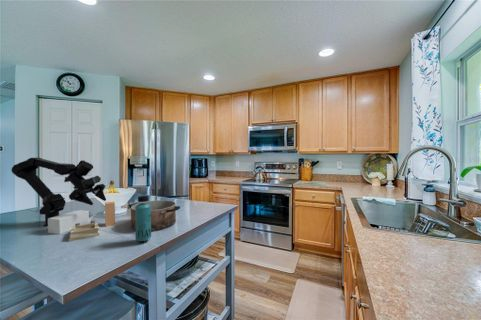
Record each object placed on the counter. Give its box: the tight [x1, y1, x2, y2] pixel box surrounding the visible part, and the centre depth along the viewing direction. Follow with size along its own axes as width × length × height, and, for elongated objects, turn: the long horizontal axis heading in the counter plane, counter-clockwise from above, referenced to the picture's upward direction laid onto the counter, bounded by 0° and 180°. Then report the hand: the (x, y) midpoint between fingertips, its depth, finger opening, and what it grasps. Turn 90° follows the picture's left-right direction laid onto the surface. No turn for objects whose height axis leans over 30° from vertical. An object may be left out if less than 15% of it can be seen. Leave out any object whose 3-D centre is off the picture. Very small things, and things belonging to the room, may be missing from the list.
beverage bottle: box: [134, 195, 153, 242], centre depth 88 cm, size 6×7×20 cm
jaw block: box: [104, 201, 116, 227], centre depth 108 cm, size 4×4×12 cm
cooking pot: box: [128, 199, 181, 232], centre depth 109 cm, size 30×22×11 cm
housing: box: [68, 220, 100, 242], centre depth 96 cm, size 14×11×4 cm
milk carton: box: [47, 209, 95, 235], centre depth 105 cm, size 7×7×19 cm
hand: (99, 202), depth 108 cm, fingers open, 9 cm apart
